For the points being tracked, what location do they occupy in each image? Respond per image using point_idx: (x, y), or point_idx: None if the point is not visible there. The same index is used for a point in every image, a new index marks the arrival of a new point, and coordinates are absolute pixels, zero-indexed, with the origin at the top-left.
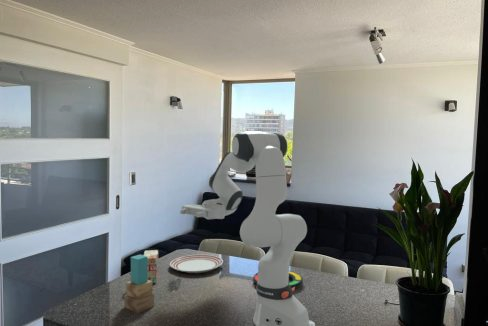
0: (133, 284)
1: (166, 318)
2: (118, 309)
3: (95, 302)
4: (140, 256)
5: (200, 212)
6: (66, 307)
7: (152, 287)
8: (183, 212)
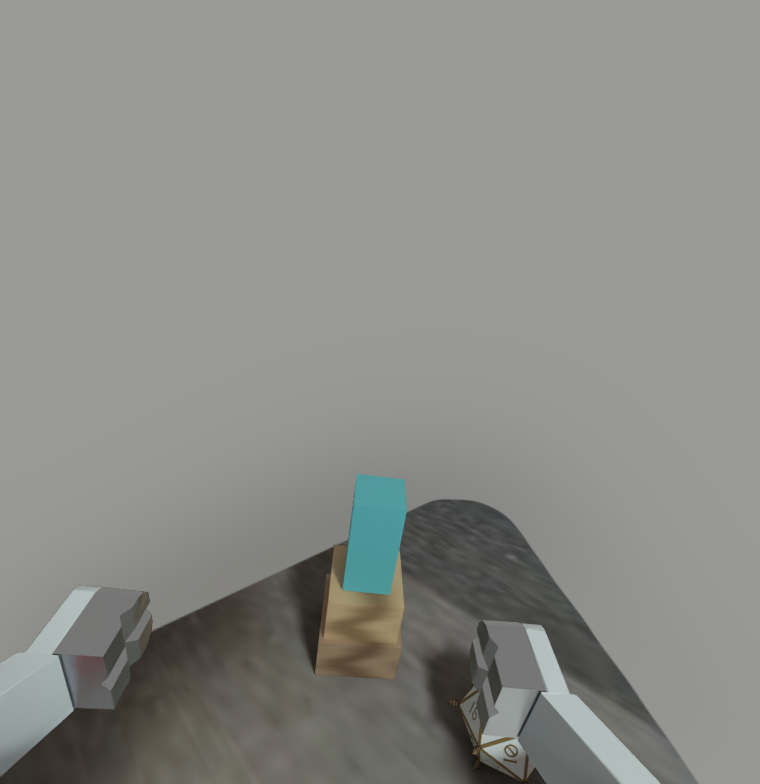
0: None
1: (207, 625)
2: None
3: (488, 587)
4: (379, 496)
5: (40, 654)
6: (502, 536)
7: (326, 621)
8: (484, 667)
